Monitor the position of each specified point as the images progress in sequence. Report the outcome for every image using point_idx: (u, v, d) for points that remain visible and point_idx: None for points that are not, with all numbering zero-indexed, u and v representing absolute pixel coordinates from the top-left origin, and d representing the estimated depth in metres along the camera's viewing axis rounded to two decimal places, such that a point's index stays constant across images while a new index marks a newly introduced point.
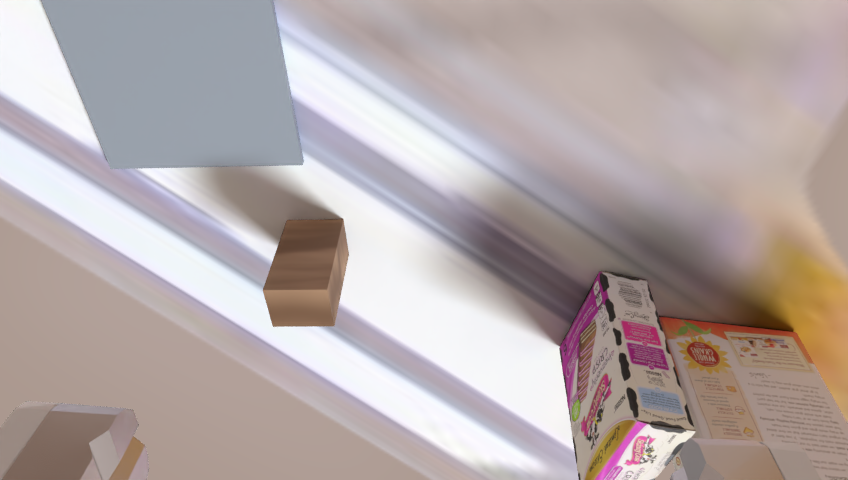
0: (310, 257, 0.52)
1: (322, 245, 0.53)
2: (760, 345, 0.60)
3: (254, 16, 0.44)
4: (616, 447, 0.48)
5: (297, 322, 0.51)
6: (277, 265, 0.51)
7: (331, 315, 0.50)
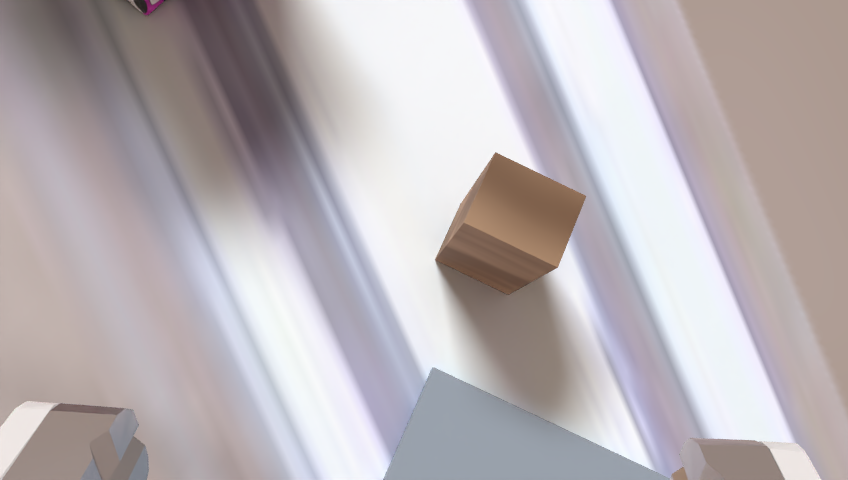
0: (482, 256, 0.34)
1: (464, 256, 0.36)
2: None
3: None
4: None
5: (545, 184, 0.31)
6: (530, 273, 0.33)
7: (487, 173, 0.31)
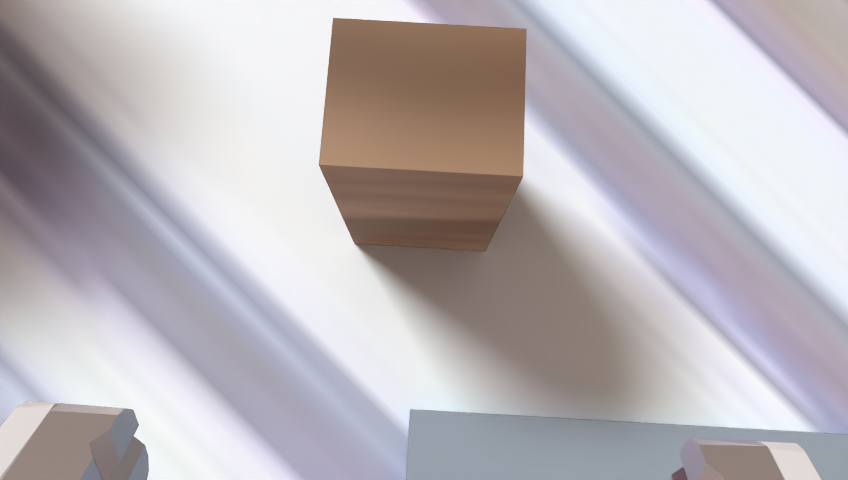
0: (403, 211, 0.19)
1: (381, 222, 0.21)
2: None
3: None
4: None
5: (445, 38, 0.16)
6: (489, 206, 0.18)
7: (331, 60, 0.16)
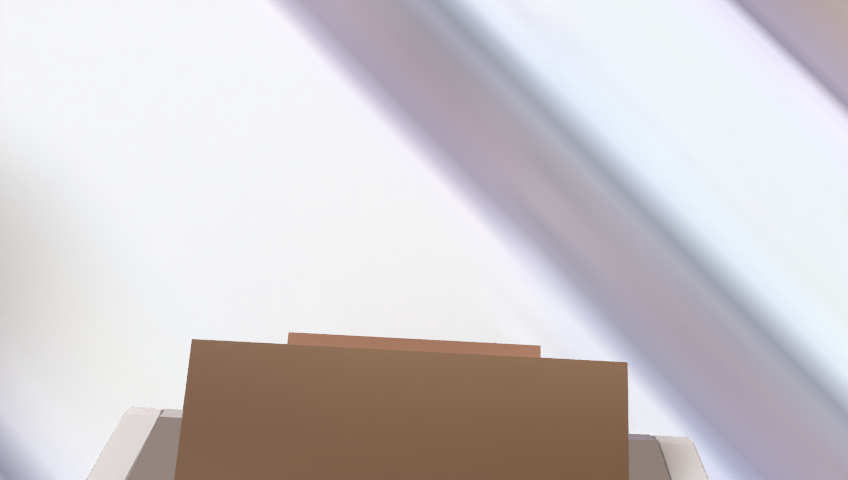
0: None
1: None
2: None
3: None
4: None
5: (443, 388, 0.07)
6: None
7: (185, 446, 0.07)
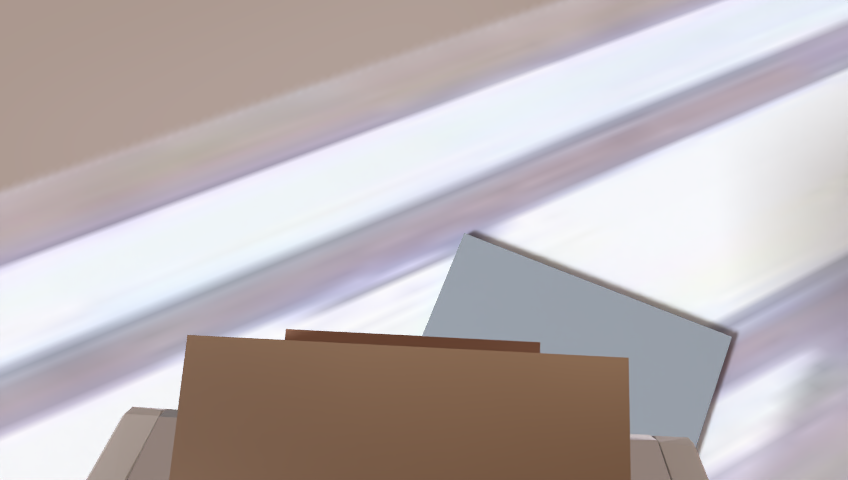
0: None
1: None
2: None
3: None
4: None
5: (442, 384, 0.07)
6: None
7: (180, 443, 0.07)
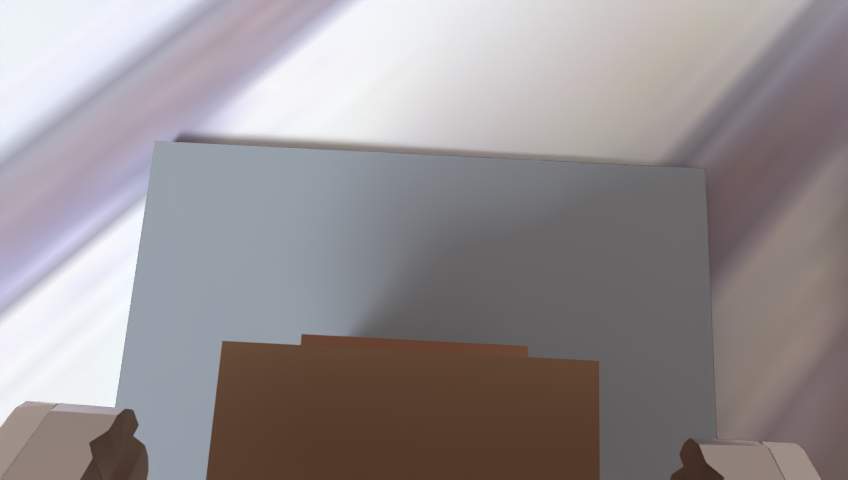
0: None
1: None
2: None
3: None
4: None
5: (440, 383, 0.08)
6: None
7: (217, 433, 0.08)
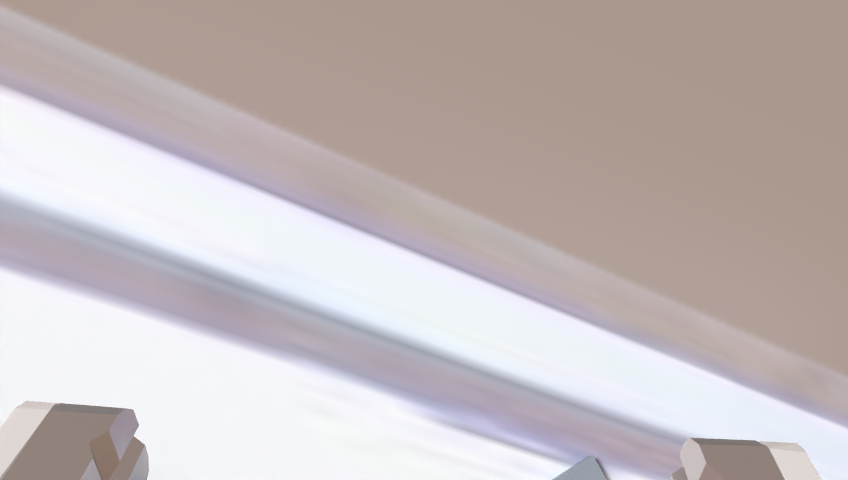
0: None
1: None
2: None
3: None
4: None
5: None
6: None
7: None
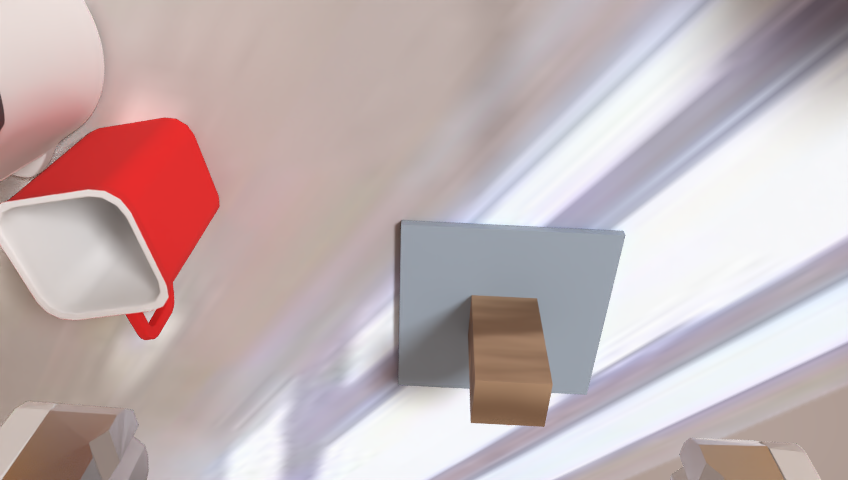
0: (517, 342, 0.44)
1: (525, 328, 0.46)
2: None
3: (454, 243, 0.46)
4: None
5: (501, 420, 0.43)
6: (481, 350, 0.44)
7: (545, 414, 0.43)
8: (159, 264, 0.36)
